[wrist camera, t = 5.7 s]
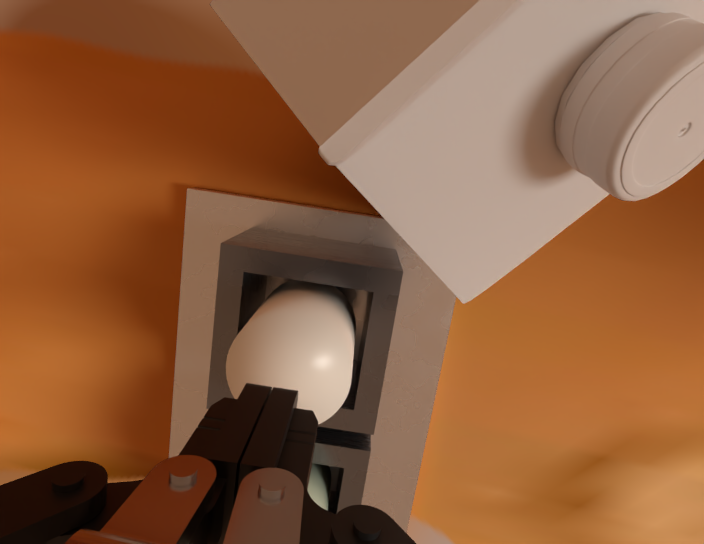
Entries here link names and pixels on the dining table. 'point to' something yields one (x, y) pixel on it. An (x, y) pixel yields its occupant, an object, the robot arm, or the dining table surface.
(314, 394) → the cream white egg
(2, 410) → the dining table surface
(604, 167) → the milk carton
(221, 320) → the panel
